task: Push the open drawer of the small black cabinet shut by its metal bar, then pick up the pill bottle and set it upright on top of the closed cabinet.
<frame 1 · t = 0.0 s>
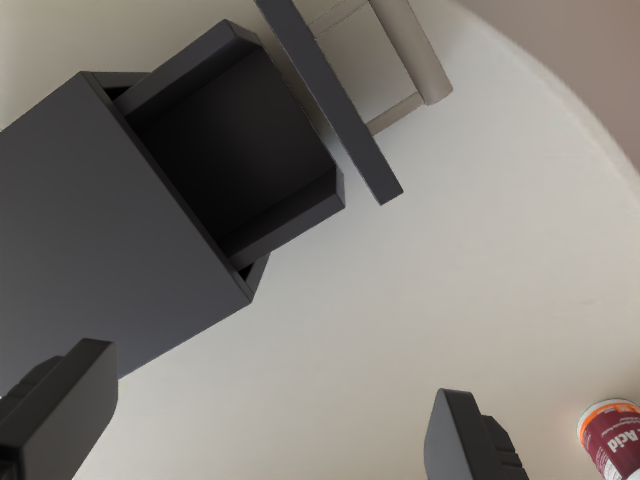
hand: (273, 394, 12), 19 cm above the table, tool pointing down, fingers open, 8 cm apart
pill bottle: (607, 422, 34), on the table
cabinet: (138, 214, 30), on the table
drawer: (268, 130, 24), point 5 cm above the table, slide at 7.0 cm
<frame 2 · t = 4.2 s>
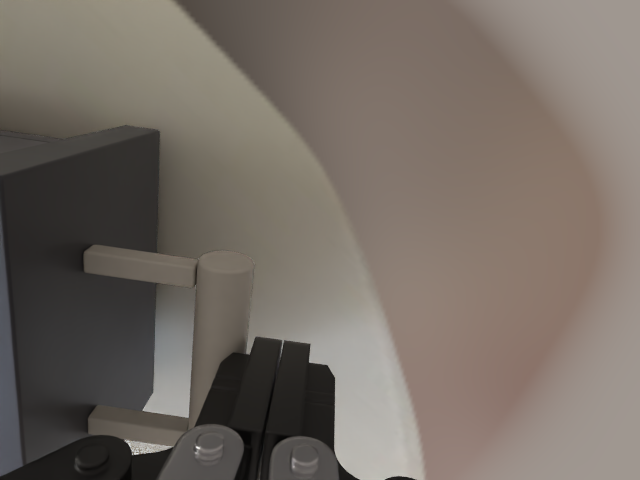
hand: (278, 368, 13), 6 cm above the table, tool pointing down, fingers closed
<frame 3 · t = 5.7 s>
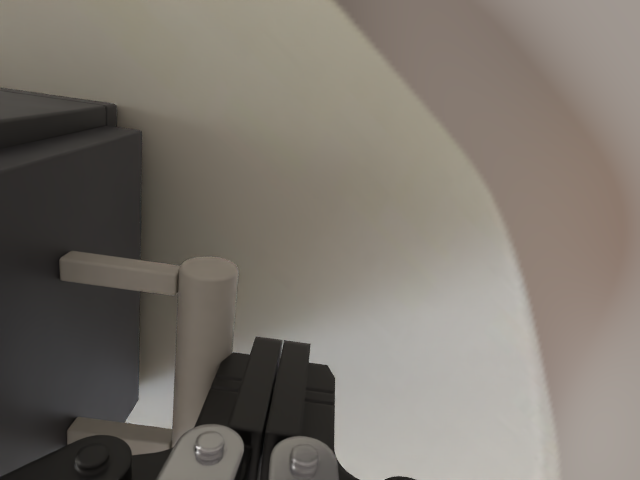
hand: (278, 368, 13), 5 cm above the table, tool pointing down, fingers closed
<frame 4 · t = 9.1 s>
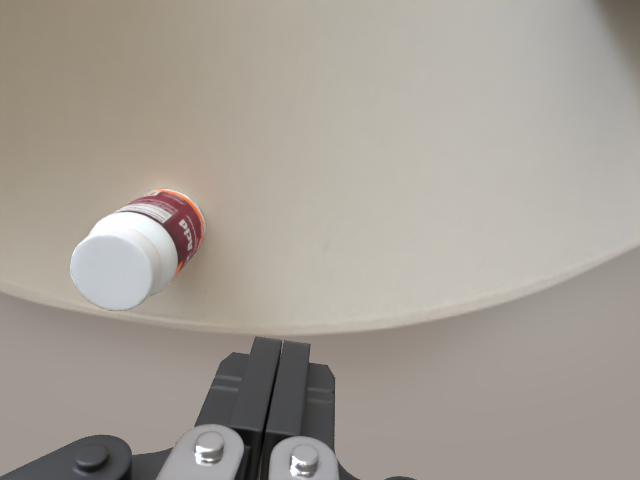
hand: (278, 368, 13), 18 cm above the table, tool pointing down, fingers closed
pill bottle: (171, 222, 31), on the table
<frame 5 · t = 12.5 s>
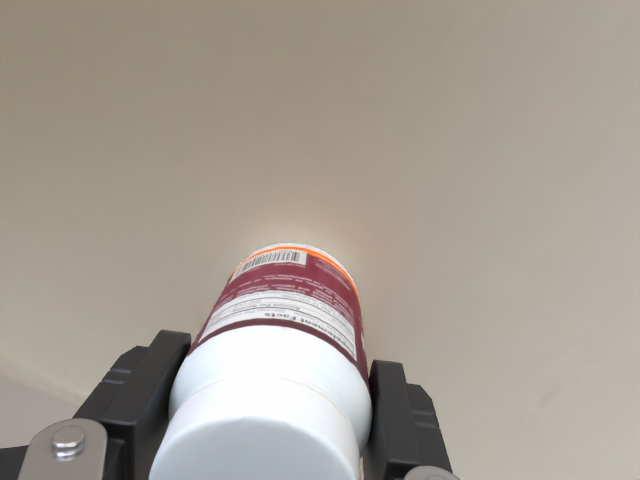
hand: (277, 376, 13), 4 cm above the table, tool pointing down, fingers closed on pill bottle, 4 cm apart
pill bottle: (293, 300, 17), on the table, touching gripper
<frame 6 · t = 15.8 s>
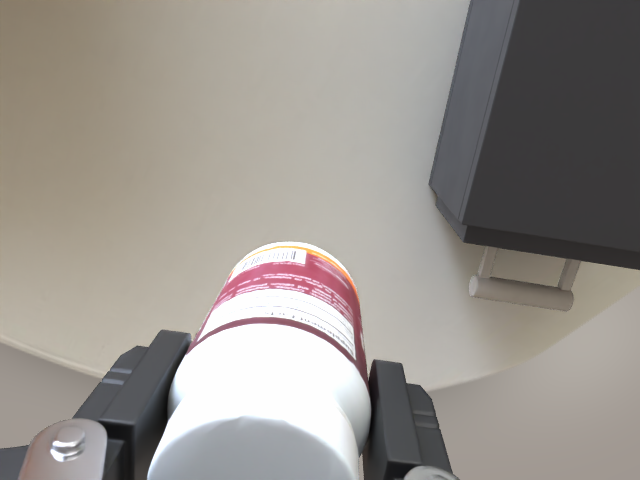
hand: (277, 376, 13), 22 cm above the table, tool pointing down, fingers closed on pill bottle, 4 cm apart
pill bottle: (293, 299, 17), point 18 cm above the table, touching gripper
cabinet: (538, 97, 31), on the table
drawer: (551, 168, 28), point 5 cm above the table, slide at 0.0 cm
when the fingers open (14 cm above the table, at t = 19.3 s): pill bottle stays where it is, resting on cabinet.
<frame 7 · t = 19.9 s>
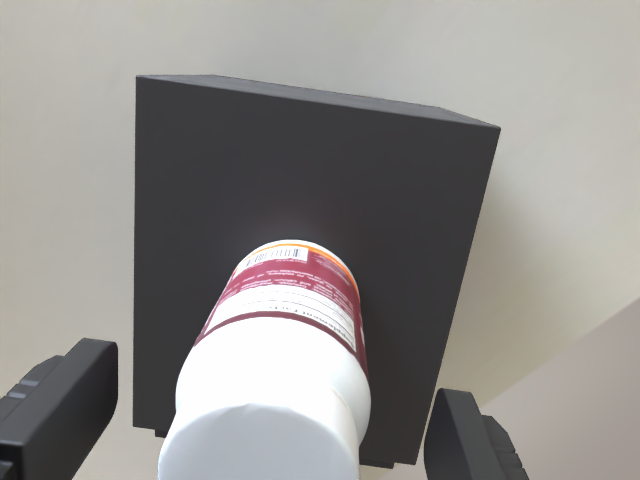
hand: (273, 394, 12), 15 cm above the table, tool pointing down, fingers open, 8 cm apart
pill bottle: (295, 296, 17), point 9 cm above the table, touching cabinet
cabinet: (309, 219, 26), on the table
drawer: (293, 324, 23), point 5 cm above the table, slide at 0.0 cm
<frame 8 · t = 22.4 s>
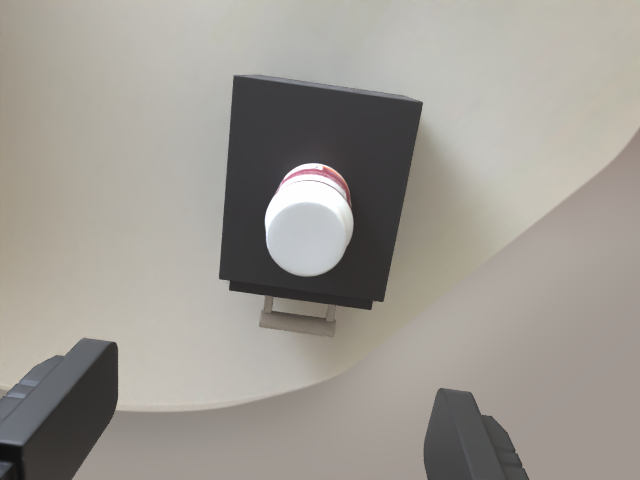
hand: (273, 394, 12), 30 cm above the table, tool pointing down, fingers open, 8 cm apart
pill bottle: (314, 197, 32), point 9 cm above the table, touching cabinet
cabinet: (319, 169, 40), on the table
drawer: (310, 230, 37), point 5 cm above the table, slide at 0.0 cm
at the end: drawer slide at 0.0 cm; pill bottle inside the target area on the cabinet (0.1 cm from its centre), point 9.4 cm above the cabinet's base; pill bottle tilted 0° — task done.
